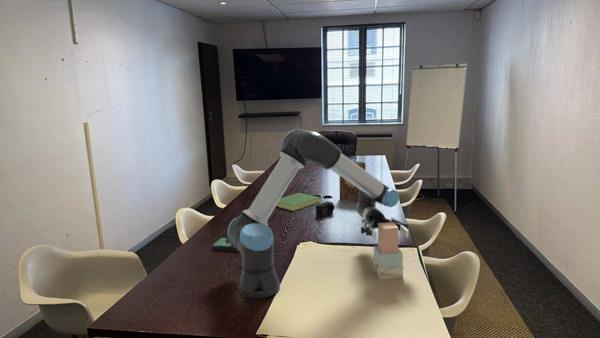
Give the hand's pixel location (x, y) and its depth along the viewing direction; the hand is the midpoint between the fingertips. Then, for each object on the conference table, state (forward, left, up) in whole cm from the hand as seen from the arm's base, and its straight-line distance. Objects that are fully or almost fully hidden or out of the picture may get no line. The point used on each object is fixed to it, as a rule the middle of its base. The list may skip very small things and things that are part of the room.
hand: (391, 235), depth 151 cm
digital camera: (-66, +45, -17) cm, 82 cm away
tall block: (-3, +2, -7) cm, 8 cm away
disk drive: (-74, -17, -18) cm, 78 cm away
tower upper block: (-3, +3, -12) cm, 13 cm away
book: (-70, +80, -17) cm, 108 cm away
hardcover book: (-95, +53, -18) cm, 110 cm away
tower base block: (-3, +3, -17) cm, 18 cm away
